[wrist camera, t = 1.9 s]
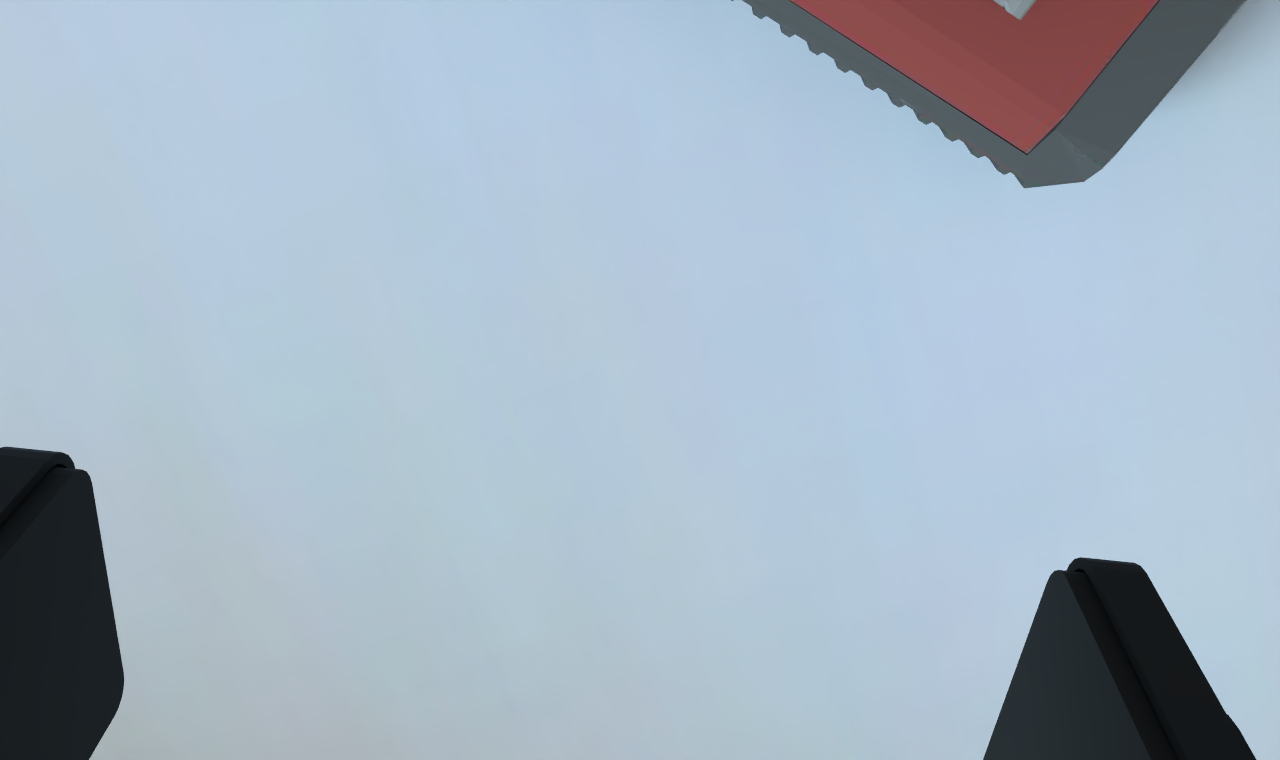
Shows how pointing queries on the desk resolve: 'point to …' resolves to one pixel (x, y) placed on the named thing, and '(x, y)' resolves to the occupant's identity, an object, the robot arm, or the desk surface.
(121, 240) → the desk surface
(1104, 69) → the walkie-talkie
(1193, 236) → the desk surface
